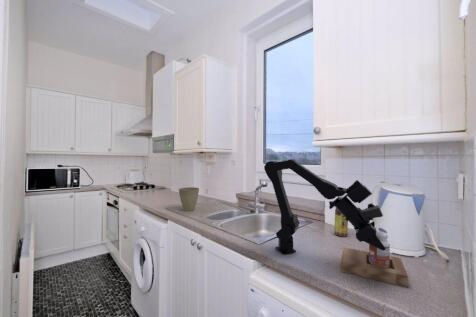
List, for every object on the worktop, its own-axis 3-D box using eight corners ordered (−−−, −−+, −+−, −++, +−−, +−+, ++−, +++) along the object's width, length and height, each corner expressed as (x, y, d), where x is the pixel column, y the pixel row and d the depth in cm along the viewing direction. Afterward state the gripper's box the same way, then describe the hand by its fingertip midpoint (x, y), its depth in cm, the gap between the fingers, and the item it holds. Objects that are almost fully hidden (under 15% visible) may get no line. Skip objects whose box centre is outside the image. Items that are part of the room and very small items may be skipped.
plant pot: (186, 206, 174) (186, 186, 173) (202, 208, 168) (202, 188, 168) (174, 211, 160) (174, 189, 160) (191, 213, 154) (191, 190, 154)
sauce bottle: (343, 238, 110) (344, 198, 109) (331, 234, 115) (332, 196, 114) (350, 235, 113) (350, 197, 113) (338, 231, 119) (339, 195, 118)
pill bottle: (366, 258, 82) (367, 229, 82) (385, 261, 80) (386, 231, 80) (371, 266, 76) (371, 235, 76) (391, 270, 74) (392, 237, 74)
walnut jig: (340, 271, 78) (340, 261, 78) (343, 255, 90) (343, 247, 90) (407, 287, 68) (407, 276, 68) (400, 267, 81) (400, 258, 81)
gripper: (368, 202, 72) (409, 242, 66) (366, 193, 88) (400, 225, 83) (341, 222, 75) (378, 262, 70) (344, 210, 92) (374, 242, 87)
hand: (383, 246), depth 77 cm, fingers closed on pill bottle, 6 cm apart
